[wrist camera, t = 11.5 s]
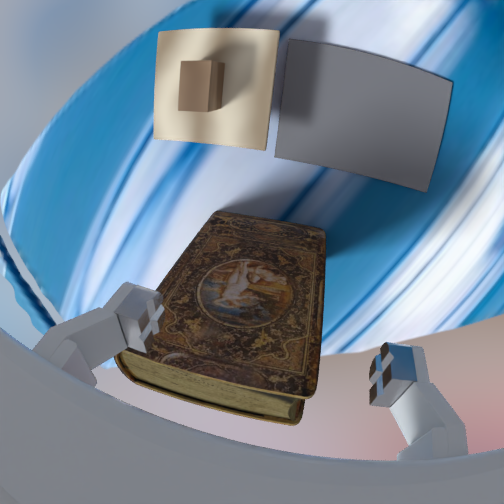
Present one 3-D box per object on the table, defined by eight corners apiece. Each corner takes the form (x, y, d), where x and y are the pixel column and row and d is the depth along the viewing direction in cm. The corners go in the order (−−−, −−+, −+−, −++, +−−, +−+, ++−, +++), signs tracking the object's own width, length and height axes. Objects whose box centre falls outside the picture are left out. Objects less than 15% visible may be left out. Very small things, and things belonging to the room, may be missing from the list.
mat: (450, 82, 24) (452, 82, 24) (425, 191, 32) (426, 192, 32) (289, 39, 26) (289, 38, 26) (274, 156, 35) (274, 157, 34)
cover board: (280, 31, 22) (272, 22, 19) (266, 149, 30) (257, 160, 26) (162, 32, 24) (138, 28, 20) (157, 137, 31) (134, 147, 27)
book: (208, 242, 44) (123, 379, 23) (208, 209, 41) (106, 343, 20) (318, 262, 42) (301, 427, 21) (326, 228, 39) (317, 398, 18)
